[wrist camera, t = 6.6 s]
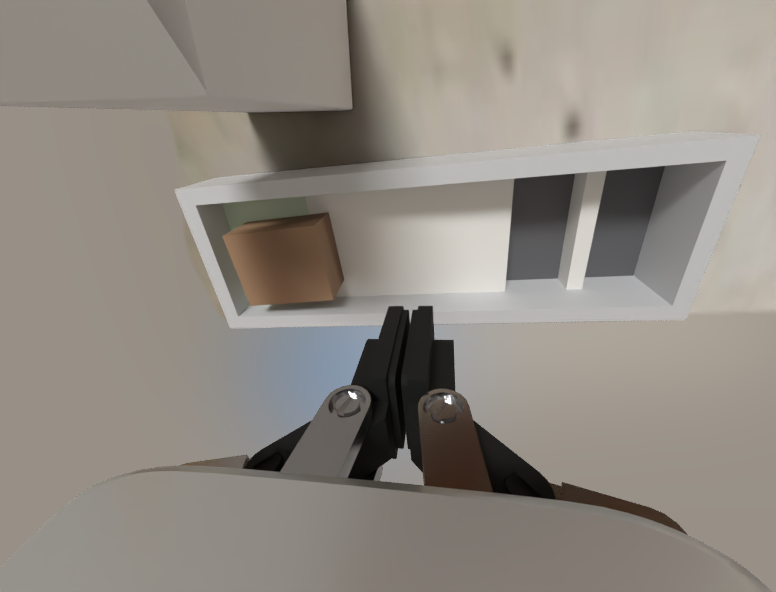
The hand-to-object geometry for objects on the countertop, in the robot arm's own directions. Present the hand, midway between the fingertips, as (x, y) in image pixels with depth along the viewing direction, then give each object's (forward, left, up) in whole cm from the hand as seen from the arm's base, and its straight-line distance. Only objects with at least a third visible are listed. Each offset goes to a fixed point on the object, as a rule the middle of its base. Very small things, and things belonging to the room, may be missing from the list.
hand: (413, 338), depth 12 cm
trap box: (0, -1, -13) cm, 13 cm away
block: (+5, +7, -11) cm, 14 cm away
